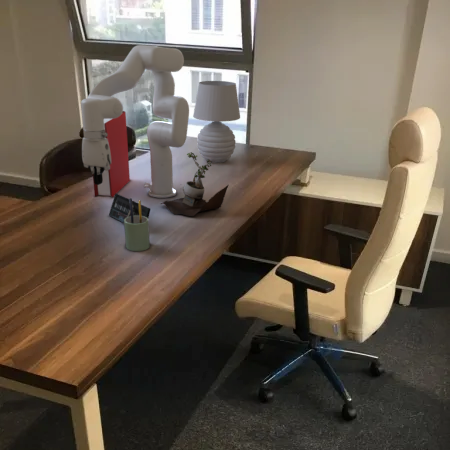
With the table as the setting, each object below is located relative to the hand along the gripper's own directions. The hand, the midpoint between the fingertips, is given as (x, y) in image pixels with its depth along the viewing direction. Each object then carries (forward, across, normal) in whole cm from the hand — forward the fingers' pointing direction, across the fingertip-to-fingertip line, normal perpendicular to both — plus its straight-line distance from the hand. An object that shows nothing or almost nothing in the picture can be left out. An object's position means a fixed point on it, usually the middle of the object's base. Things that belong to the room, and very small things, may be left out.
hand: (98, 183), depth 198 cm
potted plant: (+14, -29, -26) cm, 41 cm away
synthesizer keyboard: (+15, -12, -1) cm, 19 cm away
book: (+14, +15, -38) cm, 43 cm away
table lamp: (+13, -12, -105) cm, 106 cm away
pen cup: (+15, -25, +18) cm, 34 cm away
